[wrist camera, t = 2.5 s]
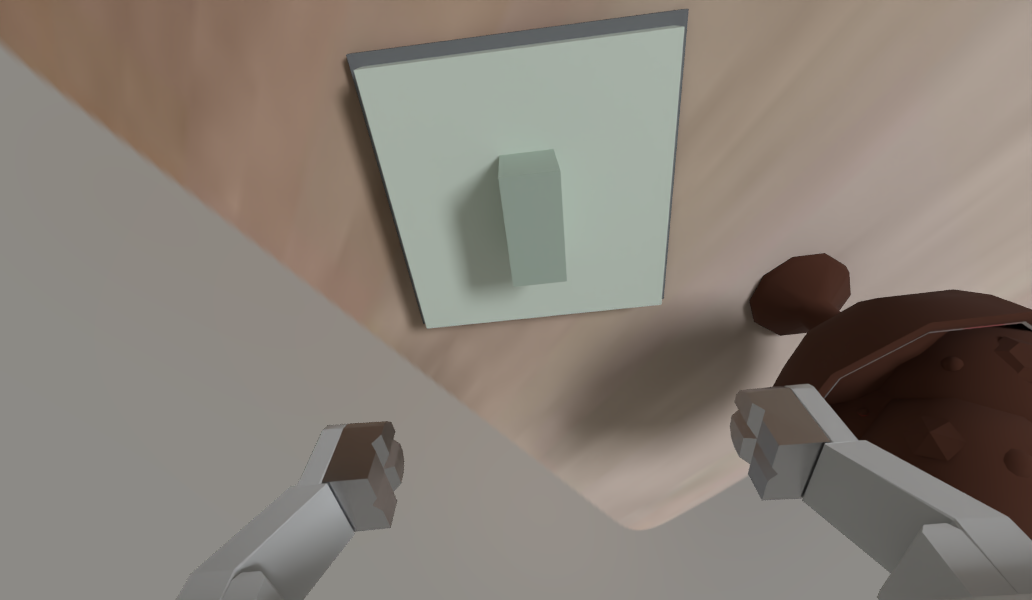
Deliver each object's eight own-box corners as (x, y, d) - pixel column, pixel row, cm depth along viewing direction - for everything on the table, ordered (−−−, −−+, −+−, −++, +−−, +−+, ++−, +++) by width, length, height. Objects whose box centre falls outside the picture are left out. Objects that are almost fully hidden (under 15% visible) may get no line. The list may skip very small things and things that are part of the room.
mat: (348, 53, 19) (346, 54, 18) (685, 8, 18) (688, 8, 18) (424, 319, 26) (423, 323, 26) (661, 295, 26) (663, 298, 25)
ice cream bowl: (724, 385, 30) (880, 658, 18) (686, 254, 24) (875, 518, 12) (897, 331, 28) (1218, 600, 15) (898, 170, 22) (1413, 390, 9)
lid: (361, 66, 19) (328, 81, 15) (674, 25, 18) (715, 30, 15) (430, 315, 26) (418, 364, 22) (655, 292, 25) (679, 339, 22)
